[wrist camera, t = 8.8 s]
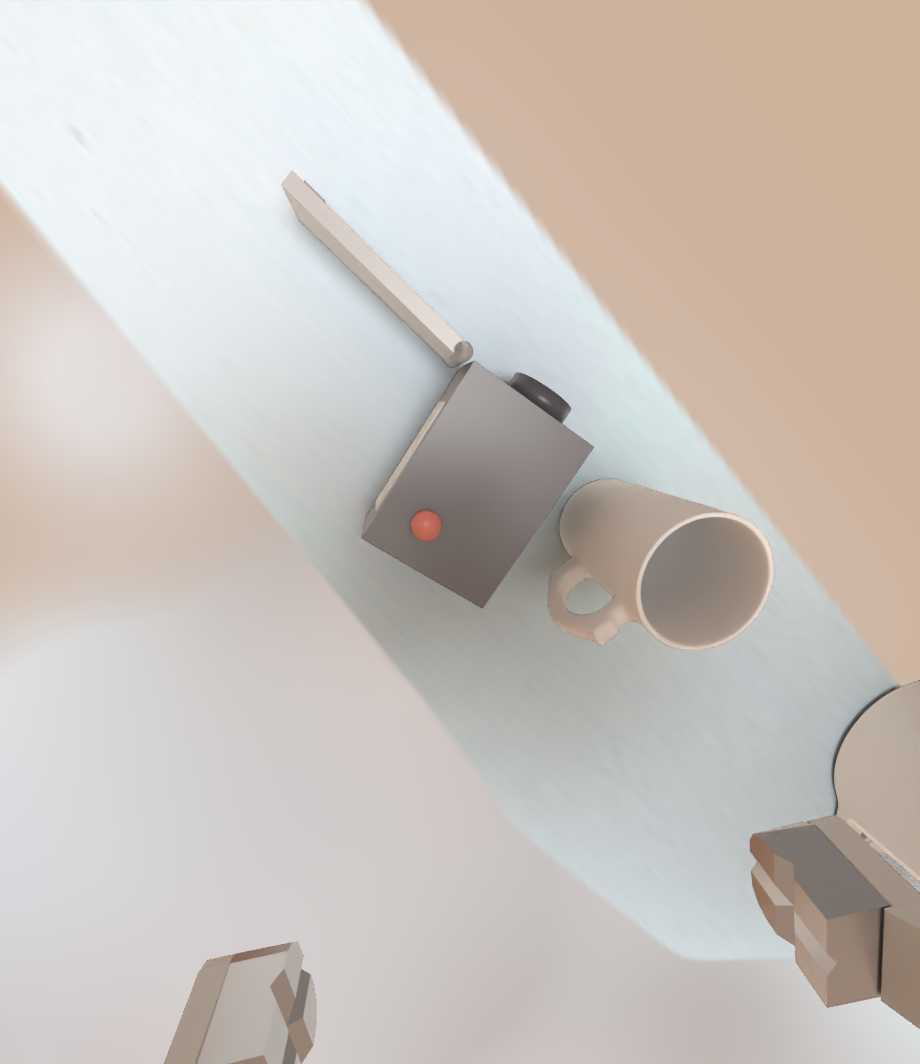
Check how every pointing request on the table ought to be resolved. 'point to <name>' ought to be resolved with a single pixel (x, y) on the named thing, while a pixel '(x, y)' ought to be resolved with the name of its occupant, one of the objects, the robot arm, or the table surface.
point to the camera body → (477, 481)
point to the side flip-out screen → (374, 271)
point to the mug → (660, 566)
